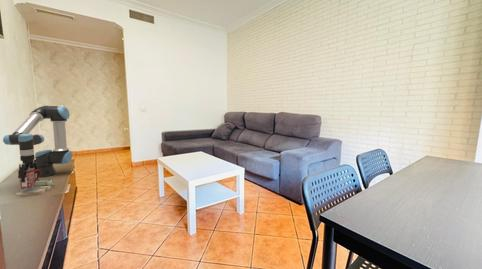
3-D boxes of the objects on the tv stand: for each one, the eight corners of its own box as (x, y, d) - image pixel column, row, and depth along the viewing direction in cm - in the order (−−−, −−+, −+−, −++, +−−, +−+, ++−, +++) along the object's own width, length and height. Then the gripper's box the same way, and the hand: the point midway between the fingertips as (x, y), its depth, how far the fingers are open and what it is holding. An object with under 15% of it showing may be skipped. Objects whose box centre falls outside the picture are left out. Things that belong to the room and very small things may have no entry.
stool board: (34, 186, 173) (33, 179, 172) (54, 185, 176) (53, 178, 175) (16, 196, 155) (15, 188, 155) (39, 194, 159) (38, 187, 158)
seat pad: (27, 187, 166) (27, 187, 166) (44, 187, 168) (43, 186, 168) (16, 193, 155) (16, 193, 155) (34, 192, 158) (34, 192, 158)
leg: (53, 183, 175) (52, 178, 174) (51, 185, 171) (50, 180, 171) (30, 185, 170) (29, 180, 169) (27, 186, 166) (27, 181, 166)
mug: (21, 190, 154) (20, 172, 152) (16, 187, 158) (15, 169, 157) (44, 184, 165) (42, 168, 163) (38, 182, 169) (37, 166, 168)
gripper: (21, 158, 148) (24, 189, 151) (43, 151, 170) (45, 178, 173) (8, 158, 146) (11, 189, 149) (32, 151, 168) (34, 178, 171)
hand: (29, 183), depth 161 cm, fingers closed on mug, 10 cm apart
